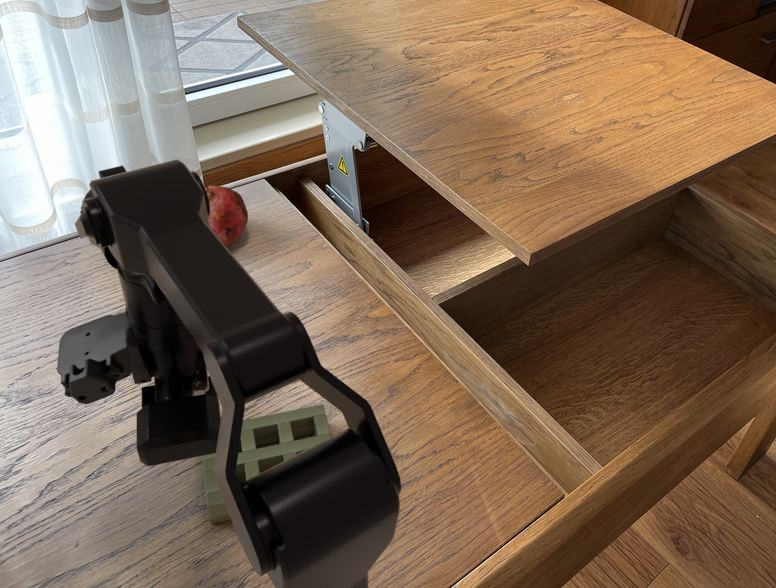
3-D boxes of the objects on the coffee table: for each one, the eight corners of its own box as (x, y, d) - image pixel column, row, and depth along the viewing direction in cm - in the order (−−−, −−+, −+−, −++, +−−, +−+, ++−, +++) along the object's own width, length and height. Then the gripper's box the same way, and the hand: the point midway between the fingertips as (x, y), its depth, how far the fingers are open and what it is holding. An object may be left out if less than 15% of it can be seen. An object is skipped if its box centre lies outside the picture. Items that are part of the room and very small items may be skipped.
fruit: (247, 214, 110) (243, 161, 104) (251, 256, 103) (247, 201, 97) (184, 218, 107) (176, 164, 101) (183, 261, 101) (174, 205, 94)
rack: (340, 492, 78) (341, 475, 75) (210, 524, 73) (207, 507, 71) (323, 421, 84) (323, 403, 82) (202, 446, 79) (199, 428, 77)
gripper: (60, 236, 61) (95, 354, 71) (41, 418, 48) (87, 529, 58) (199, 223, 64) (213, 336, 75) (215, 388, 52) (230, 498, 62)
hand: (187, 416), depth 67 cm, fingers closed
